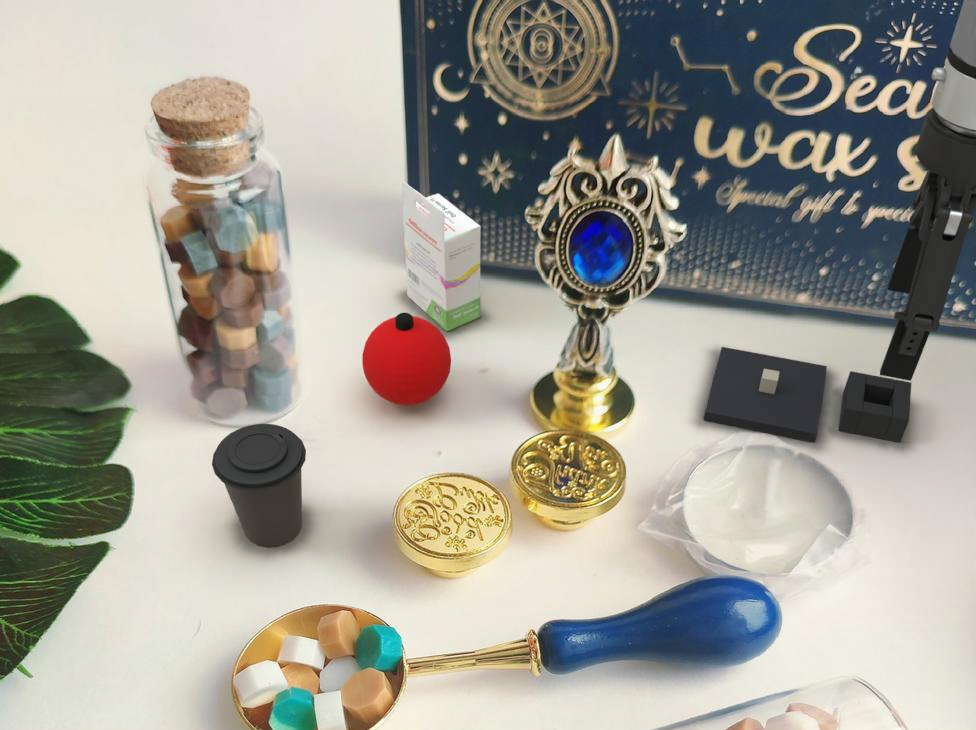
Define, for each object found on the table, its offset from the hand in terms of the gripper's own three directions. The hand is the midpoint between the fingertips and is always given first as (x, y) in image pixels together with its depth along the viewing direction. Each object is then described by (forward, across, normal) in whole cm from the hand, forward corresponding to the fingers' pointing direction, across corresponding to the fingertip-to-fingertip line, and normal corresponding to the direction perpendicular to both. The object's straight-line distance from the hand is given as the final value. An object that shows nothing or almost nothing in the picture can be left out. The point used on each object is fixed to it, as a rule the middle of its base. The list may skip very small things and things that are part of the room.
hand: (898, 331), depth 101 cm
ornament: (+11, +11, -46) cm, 48 cm away
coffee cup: (+11, +32, -51) cm, 61 cm away
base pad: (+11, 0, -10) cm, 15 cm away
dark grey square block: (+11, 0, 0) cm, 11 cm away
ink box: (+11, -5, -47) cm, 49 cm away
